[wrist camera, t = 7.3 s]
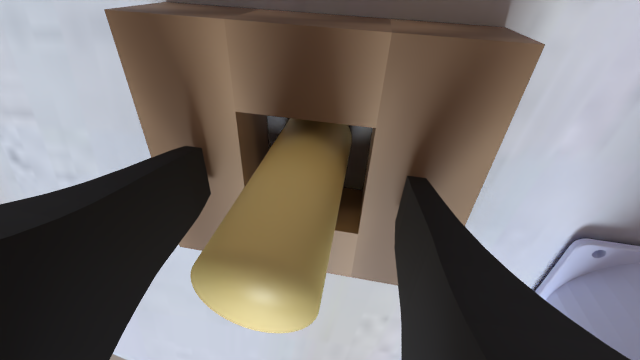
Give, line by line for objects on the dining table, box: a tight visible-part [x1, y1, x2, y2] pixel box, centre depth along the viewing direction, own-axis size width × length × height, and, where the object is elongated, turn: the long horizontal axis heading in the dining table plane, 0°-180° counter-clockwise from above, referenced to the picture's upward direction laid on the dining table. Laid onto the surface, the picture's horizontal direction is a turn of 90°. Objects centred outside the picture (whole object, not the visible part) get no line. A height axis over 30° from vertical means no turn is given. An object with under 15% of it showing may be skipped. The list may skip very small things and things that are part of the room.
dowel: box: [191, 118, 352, 333], centre depth 10 cm, size 3×3×8 cm
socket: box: [105, 2, 545, 285], centre depth 12 cm, size 12×10×3 cm
